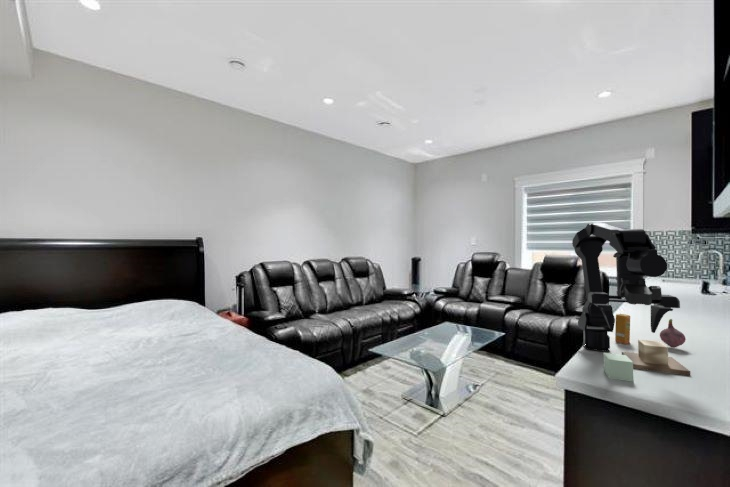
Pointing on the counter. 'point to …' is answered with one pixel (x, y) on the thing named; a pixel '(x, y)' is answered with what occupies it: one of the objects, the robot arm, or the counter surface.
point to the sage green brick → (618, 366)
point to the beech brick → (653, 352)
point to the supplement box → (622, 328)
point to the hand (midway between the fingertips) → (631, 330)
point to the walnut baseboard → (657, 365)
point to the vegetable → (672, 336)
